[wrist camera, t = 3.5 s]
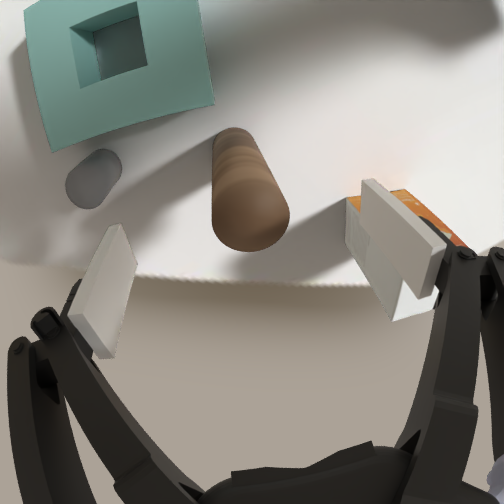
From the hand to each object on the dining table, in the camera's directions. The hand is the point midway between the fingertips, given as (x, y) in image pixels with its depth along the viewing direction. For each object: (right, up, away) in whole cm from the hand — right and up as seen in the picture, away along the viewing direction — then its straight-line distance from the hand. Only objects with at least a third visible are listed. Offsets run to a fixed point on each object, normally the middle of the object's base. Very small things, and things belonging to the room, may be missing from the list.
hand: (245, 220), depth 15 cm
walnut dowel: (-1, +8, +11) cm, 14 cm away
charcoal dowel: (-14, +7, +10) cm, 19 cm away
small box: (+15, +3, +17) cm, 23 cm away
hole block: (-11, +16, +4) cm, 20 cm away
